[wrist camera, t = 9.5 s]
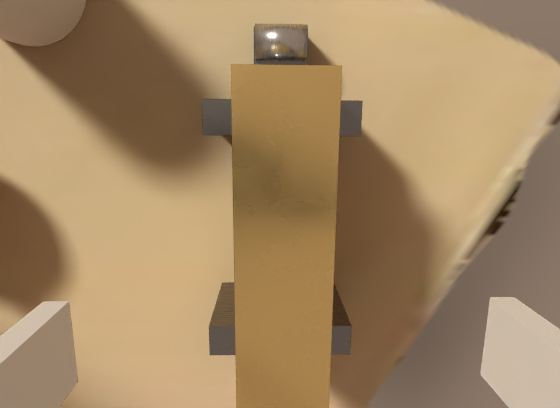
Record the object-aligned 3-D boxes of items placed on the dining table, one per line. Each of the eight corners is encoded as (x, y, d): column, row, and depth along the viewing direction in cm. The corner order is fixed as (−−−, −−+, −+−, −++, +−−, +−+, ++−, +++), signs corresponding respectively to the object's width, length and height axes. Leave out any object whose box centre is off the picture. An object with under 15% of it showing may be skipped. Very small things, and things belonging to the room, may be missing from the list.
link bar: (248, 337, 29) (237, 445, 19) (245, 87, 25) (230, 64, 16) (308, 336, 29) (327, 444, 19) (314, 88, 25) (342, 65, 16)
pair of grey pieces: (224, 361, 33) (211, 423, 26) (216, 31, 28) (198, 0, 21) (330, 360, 33) (346, 421, 26) (343, 33, 28) (367, 3, 21)
